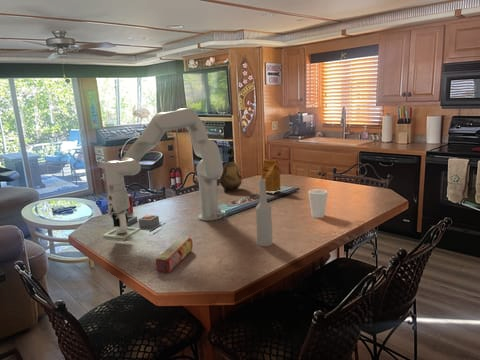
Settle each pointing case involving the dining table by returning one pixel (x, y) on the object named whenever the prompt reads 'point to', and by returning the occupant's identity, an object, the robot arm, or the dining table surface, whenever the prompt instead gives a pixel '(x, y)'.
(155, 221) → the housing
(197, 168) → the robot arm
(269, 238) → the bottle
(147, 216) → the tan rounded piece
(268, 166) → the coffee package
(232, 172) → the ceramic jug
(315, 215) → the foam cup
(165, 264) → the snack package
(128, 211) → the canned food
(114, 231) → the tray
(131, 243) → the dining table surface
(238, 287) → the dining table surface
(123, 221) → the cylinder
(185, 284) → the dining table surface
